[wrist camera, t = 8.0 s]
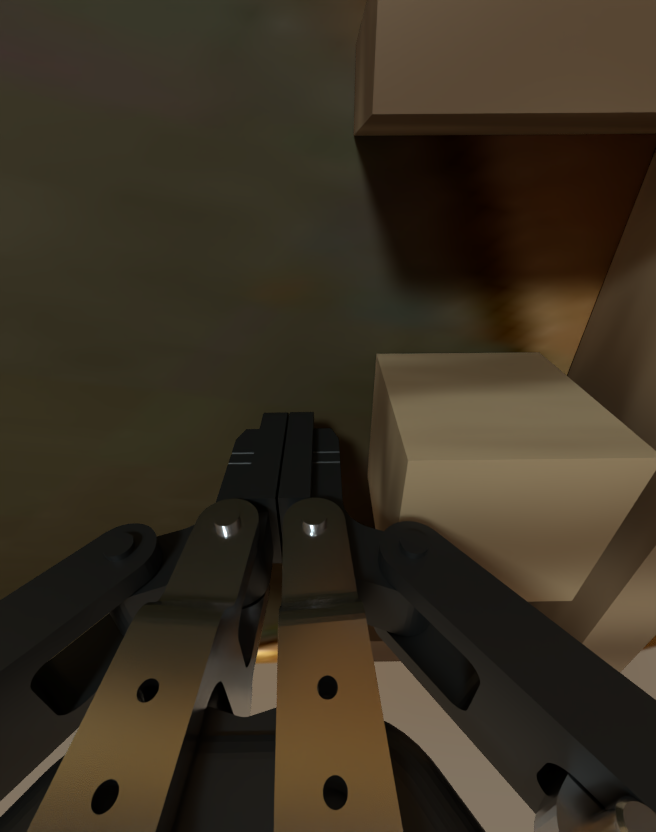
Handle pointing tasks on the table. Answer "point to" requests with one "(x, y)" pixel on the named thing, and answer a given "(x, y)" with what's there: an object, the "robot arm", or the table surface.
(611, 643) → the wooden plank
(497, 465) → the block
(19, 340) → the table surface
